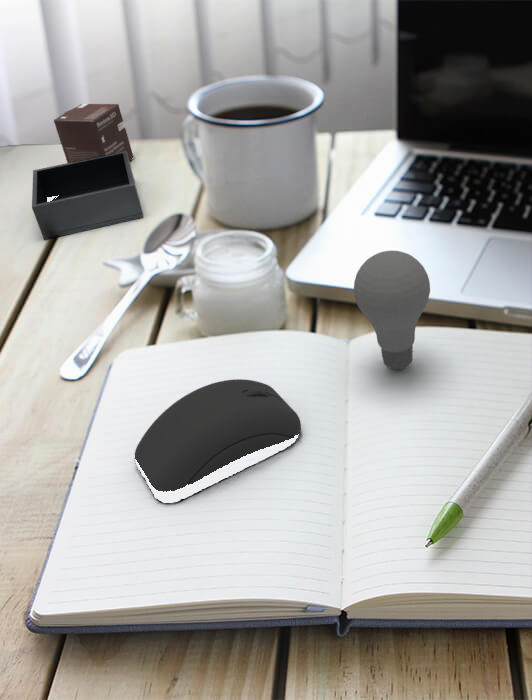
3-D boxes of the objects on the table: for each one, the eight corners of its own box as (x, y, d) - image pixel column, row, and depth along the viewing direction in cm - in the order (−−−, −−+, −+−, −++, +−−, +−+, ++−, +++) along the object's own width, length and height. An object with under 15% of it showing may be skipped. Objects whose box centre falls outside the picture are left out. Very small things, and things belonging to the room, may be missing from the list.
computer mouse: (310, 437, 56) (302, 394, 54) (162, 510, 52) (147, 467, 49) (269, 393, 60) (260, 352, 58) (130, 457, 56) (115, 415, 54)
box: (109, 178, 99) (92, 121, 94) (70, 175, 100) (51, 120, 96) (135, 158, 103) (120, 103, 99) (96, 156, 105) (80, 102, 101)
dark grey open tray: (44, 201, 95) (32, 170, 92) (135, 181, 97) (126, 150, 95) (44, 240, 86) (31, 207, 84) (143, 217, 88) (134, 184, 86)
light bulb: (425, 393, 59) (418, 278, 53) (354, 385, 60) (340, 273, 54) (440, 349, 63) (435, 238, 57) (374, 342, 64) (362, 234, 59)
